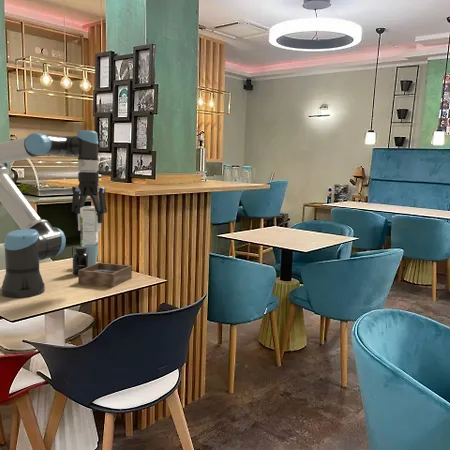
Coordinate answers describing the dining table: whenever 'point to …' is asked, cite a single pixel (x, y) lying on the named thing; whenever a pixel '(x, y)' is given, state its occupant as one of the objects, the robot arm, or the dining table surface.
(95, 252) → the cup
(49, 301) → the dining table surface
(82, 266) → the supplement bottle
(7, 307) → the dining table surface
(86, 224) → the syrup box
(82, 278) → the socket crate
